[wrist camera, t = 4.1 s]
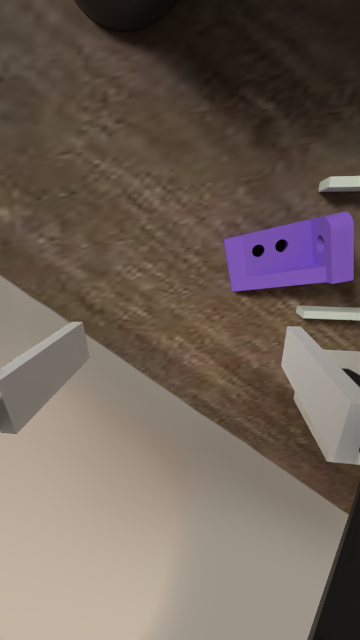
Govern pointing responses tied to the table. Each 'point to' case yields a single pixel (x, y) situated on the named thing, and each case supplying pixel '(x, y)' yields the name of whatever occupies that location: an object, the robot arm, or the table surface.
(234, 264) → the bracket
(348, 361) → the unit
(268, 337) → the table surface
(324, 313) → the corral
